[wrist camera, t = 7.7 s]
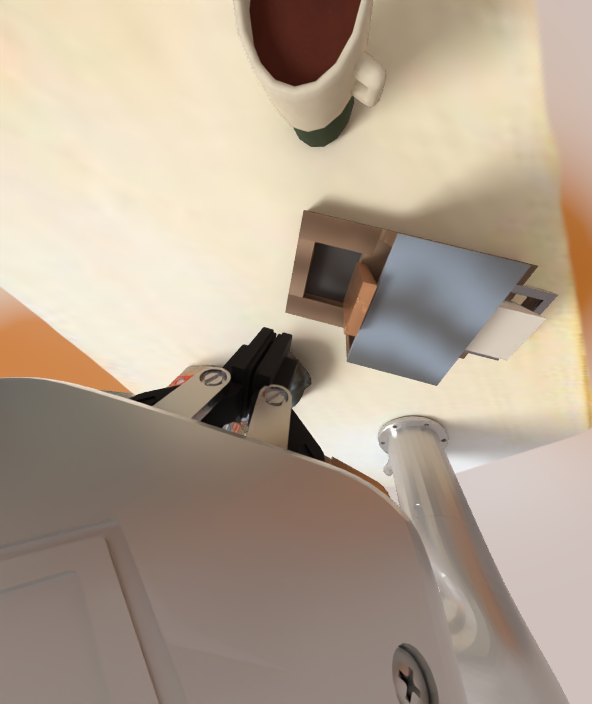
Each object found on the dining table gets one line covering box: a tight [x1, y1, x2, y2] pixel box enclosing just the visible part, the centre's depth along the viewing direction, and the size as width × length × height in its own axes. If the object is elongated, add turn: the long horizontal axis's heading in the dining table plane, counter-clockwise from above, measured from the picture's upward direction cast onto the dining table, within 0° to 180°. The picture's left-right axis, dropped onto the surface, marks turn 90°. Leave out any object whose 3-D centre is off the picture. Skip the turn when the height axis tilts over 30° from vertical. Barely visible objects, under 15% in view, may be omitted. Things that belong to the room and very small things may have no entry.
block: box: [465, 298, 547, 360], centre depth 24 cm, size 5×5×6 cm
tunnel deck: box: [285, 210, 538, 386], centre depth 24 cm, size 13×26×11 cm, turn 79°
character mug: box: [233, 0, 386, 147], centre depth 16 cm, size 11×7×13 cm, turn 62°
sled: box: [343, 262, 558, 360], centre depth 22 cm, size 9×20×9 cm, turn 79°
